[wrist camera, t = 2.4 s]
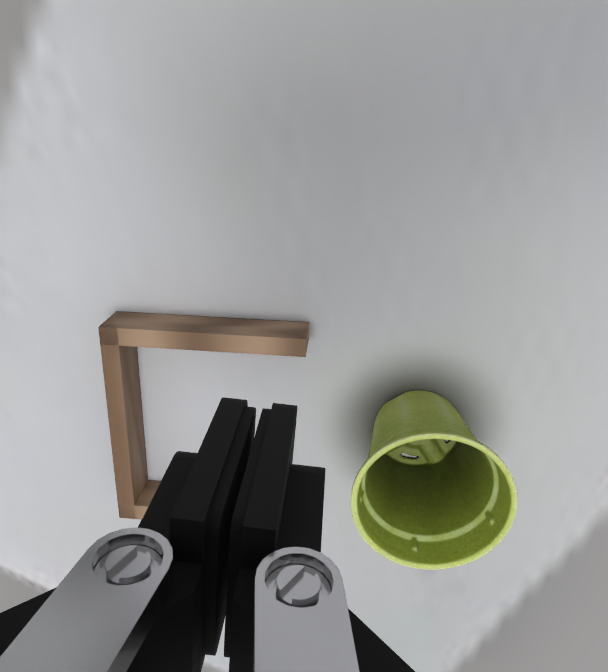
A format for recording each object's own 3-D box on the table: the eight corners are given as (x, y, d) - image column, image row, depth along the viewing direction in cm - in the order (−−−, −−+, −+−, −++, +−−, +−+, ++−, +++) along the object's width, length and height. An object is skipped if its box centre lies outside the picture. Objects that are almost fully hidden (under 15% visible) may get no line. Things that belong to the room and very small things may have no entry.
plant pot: (339, 470, 42) (337, 555, 34) (363, 356, 38) (368, 421, 30) (463, 491, 41) (491, 581, 33) (498, 379, 38) (539, 450, 30)
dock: (309, 322, 37) (306, 339, 35) (301, 504, 43) (298, 531, 40) (116, 311, 38) (98, 326, 35) (134, 491, 44) (119, 517, 41)
